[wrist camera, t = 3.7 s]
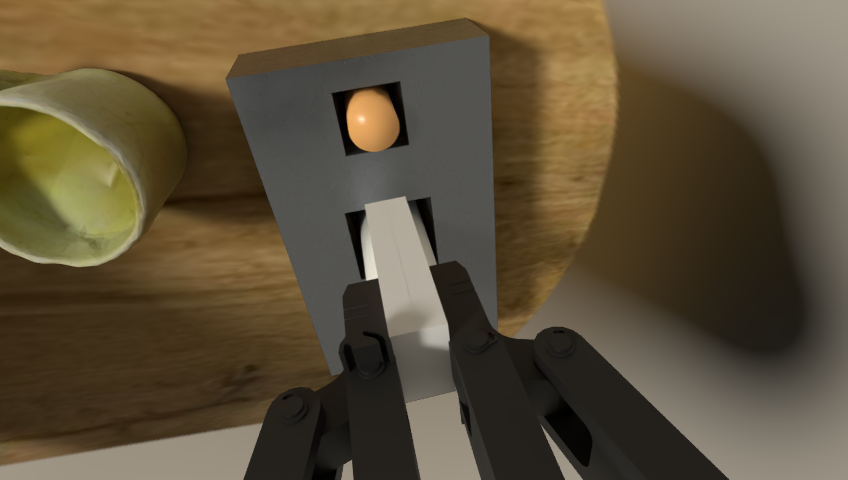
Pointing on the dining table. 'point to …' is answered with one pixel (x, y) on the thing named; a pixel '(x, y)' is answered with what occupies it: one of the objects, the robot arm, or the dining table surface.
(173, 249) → the dining table surface
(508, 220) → the dining table surface
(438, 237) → the housing
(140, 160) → the mug
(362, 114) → the orange egg shape
